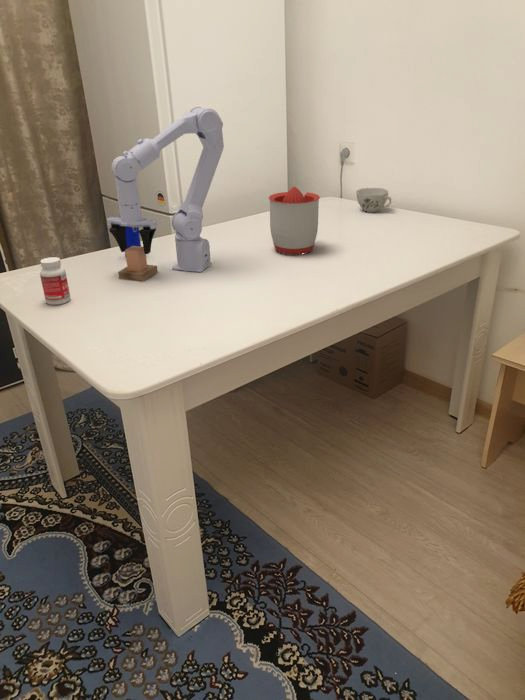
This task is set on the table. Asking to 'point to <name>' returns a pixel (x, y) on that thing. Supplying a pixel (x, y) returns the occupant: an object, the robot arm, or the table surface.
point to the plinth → (138, 273)
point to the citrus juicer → (294, 221)
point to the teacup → (372, 199)
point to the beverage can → (132, 237)
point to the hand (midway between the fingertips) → (135, 252)
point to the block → (136, 258)
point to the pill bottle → (54, 281)
